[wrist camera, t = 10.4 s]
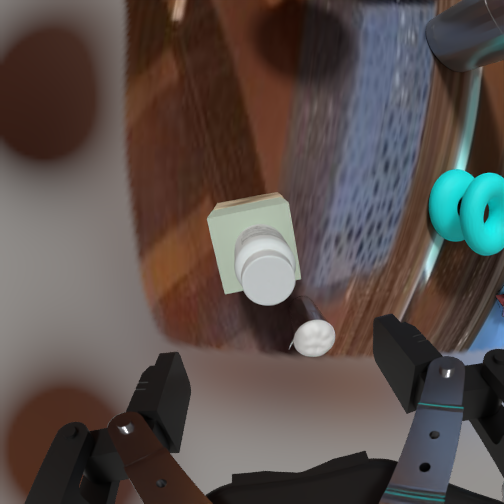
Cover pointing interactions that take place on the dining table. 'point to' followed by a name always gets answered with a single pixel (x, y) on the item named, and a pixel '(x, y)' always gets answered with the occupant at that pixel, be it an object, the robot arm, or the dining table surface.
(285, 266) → the pill bottle
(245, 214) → the sage top block
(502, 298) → the geometric puzzle
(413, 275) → the dining table surface
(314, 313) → the milkshake
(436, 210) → the donuts
